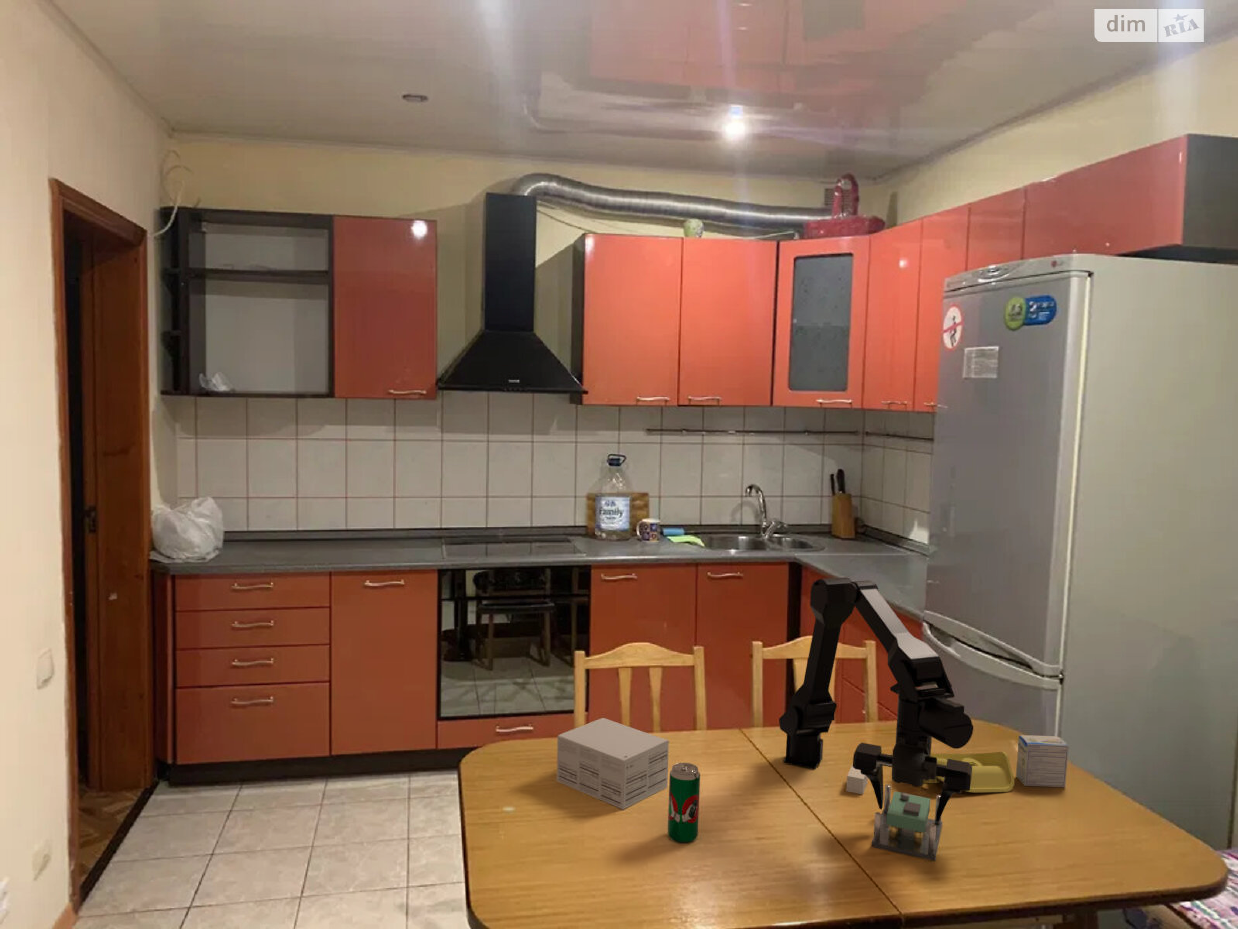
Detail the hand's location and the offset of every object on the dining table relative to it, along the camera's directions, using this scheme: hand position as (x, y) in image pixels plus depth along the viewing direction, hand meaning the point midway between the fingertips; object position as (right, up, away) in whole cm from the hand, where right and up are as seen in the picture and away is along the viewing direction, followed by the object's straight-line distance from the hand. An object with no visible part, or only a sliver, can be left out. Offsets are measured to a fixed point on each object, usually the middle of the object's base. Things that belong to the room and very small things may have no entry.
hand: (908, 814), depth 154 cm
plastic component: (+16, -3, +23) cm, 28 cm away
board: (0, -1, 0) cm, 0 cm away
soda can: (-39, -3, -2) cm, 39 cm away
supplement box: (-50, -1, +17) cm, 53 cm away
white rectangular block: (-4, -2, +18) cm, 19 cm away
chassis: (0, -4, 0) cm, 4 cm away
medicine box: (+33, -3, +23) cm, 40 cm away
